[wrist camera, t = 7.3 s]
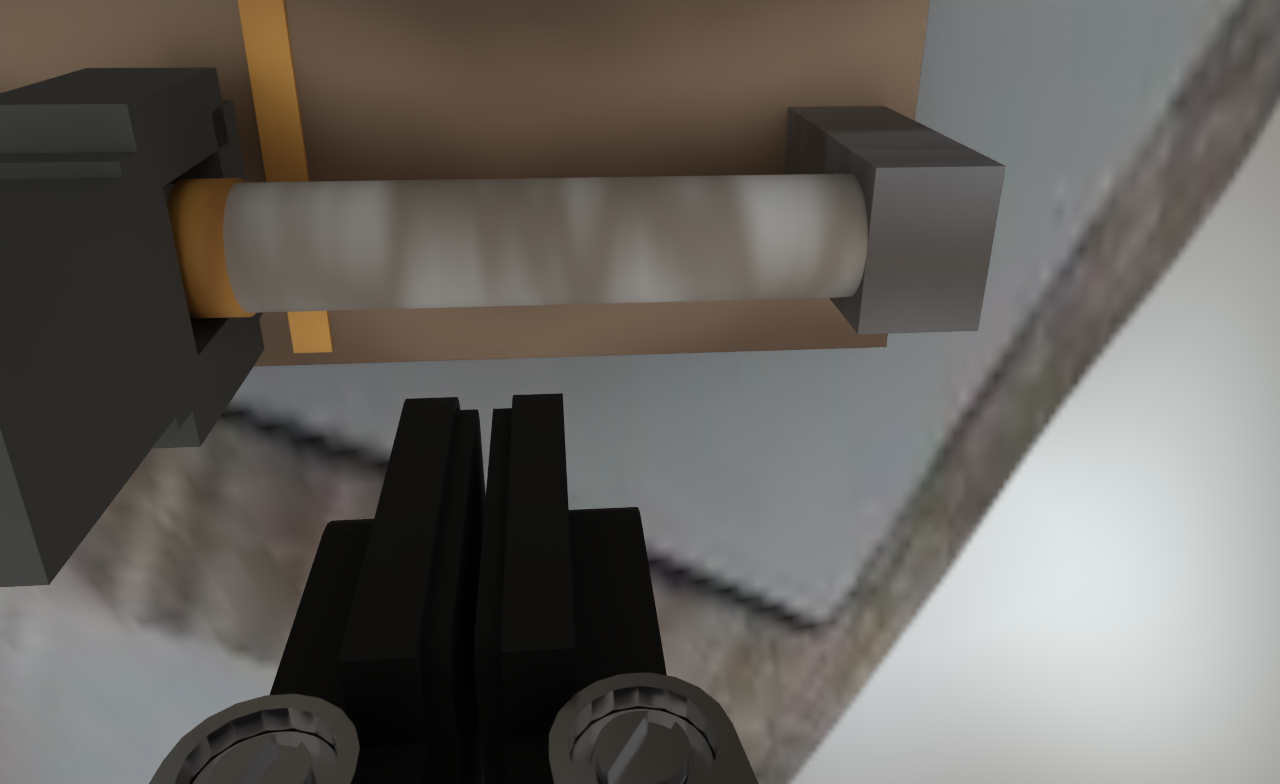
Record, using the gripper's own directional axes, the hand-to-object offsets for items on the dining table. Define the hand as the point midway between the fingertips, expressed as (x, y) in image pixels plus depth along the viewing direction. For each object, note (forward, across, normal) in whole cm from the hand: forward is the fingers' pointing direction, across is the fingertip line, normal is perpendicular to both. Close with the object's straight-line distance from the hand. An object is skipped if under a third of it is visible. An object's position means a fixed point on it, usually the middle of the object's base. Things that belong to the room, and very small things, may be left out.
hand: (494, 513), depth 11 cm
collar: (+17, +9, +2) cm, 19 cm away
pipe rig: (+21, +3, +2) cm, 22 cm away
